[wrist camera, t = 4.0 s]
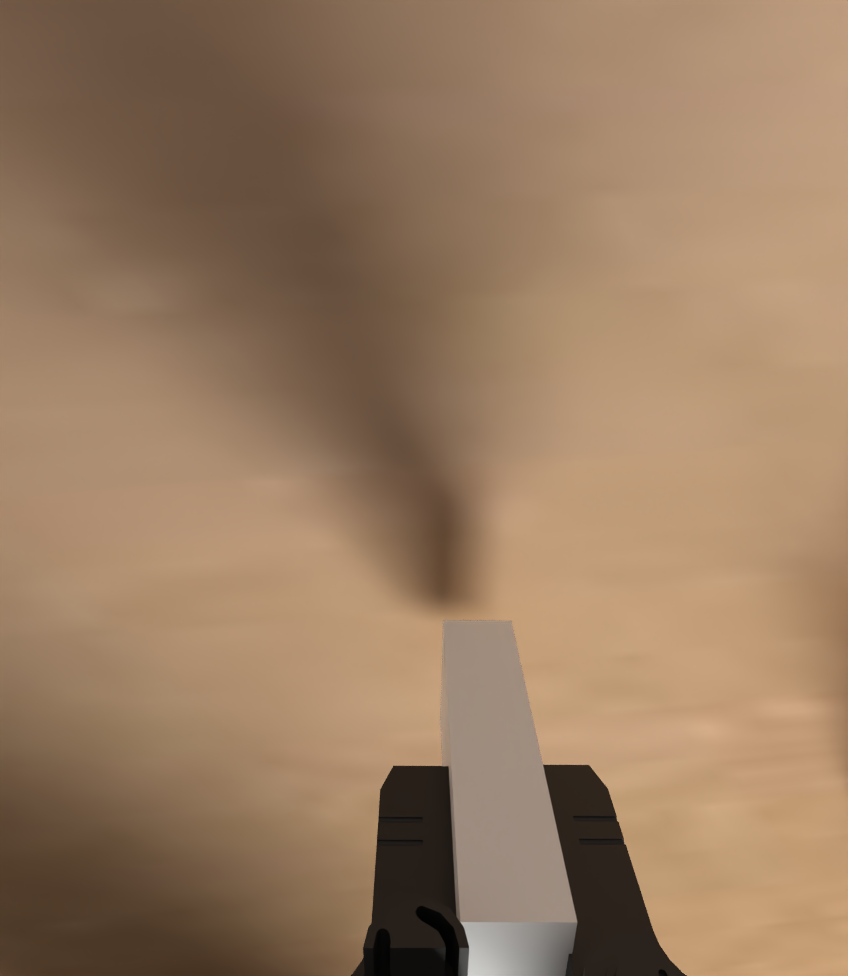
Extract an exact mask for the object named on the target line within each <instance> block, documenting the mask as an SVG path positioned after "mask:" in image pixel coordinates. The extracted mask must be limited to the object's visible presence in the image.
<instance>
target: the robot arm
mask: <svg viewBox="0 0 848 976" xmlns="http://www.w3.org/2000/svg"><path fill="white" fill-rule="evenodd" d="M440 724H441V749H442V766H393V768H392V770H391V771H390V773H389V775H388V777H387V779H386V780H385V782H384V784H383V786H382V788H381V789H380V804H379V822H378V835H377V850H376V865H375V881H374V896H373V911H372V923H371V925H370V926H369V928H368V932H367V936H366V939H365V943H364V947H363V954H364V958H363V960H362V962H361V963H360V964H359V966H358V967H357V968H356V970H355V971H354V973H353V974H352V975H351V976H686V975H685V974H684V973H682V972H681V971H680V970H679V969H678V968H677V967H676V966H675V965H674V964H673V963H672V962H671V961H670V960H669V958H668V957H667V955H666V954H665V952H664V951H663V949H662V948H661V946H660V945H659V943H658V941H657V938H656V936H655V934H654V931H653V929H652V926H651V923H650V919H649V916H648V913H647V910H646V907H645V904H644V901H643V897H642V894H641V891H640V888H639V885H638V882H637V879H636V876H635V872H634V869H633V866H632V863H631V860H630V857H629V854H628V850H627V847H626V845H624V838H623V835H622V832H621V829H620V825H619V822H617V818H616V817H617V816H616V813H615V810H614V807H613V803H612V800H611V797H610V794H609V791H608V788H607V787H606V786H605V785H604V783H603V782H602V781H601V780H600V778H599V777H598V776H597V775H596V773H595V772H594V771H593V770H592V768H591V767H590V766H589V765H543V763H542V758H541V754H540V749H539V744H538V740H537V735H536V731H535V726H534V721H533V717H532V712H531V708H530V703H529V699H528V694H527V689H526V685H525V680H524V676H523V671H522V666H521V662H520V657H519V653H518V648H517V644H516V639H515V634H514V630H513V625H512V621H496V620H443V642H442V674H441V707H440Z"/></svg>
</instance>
